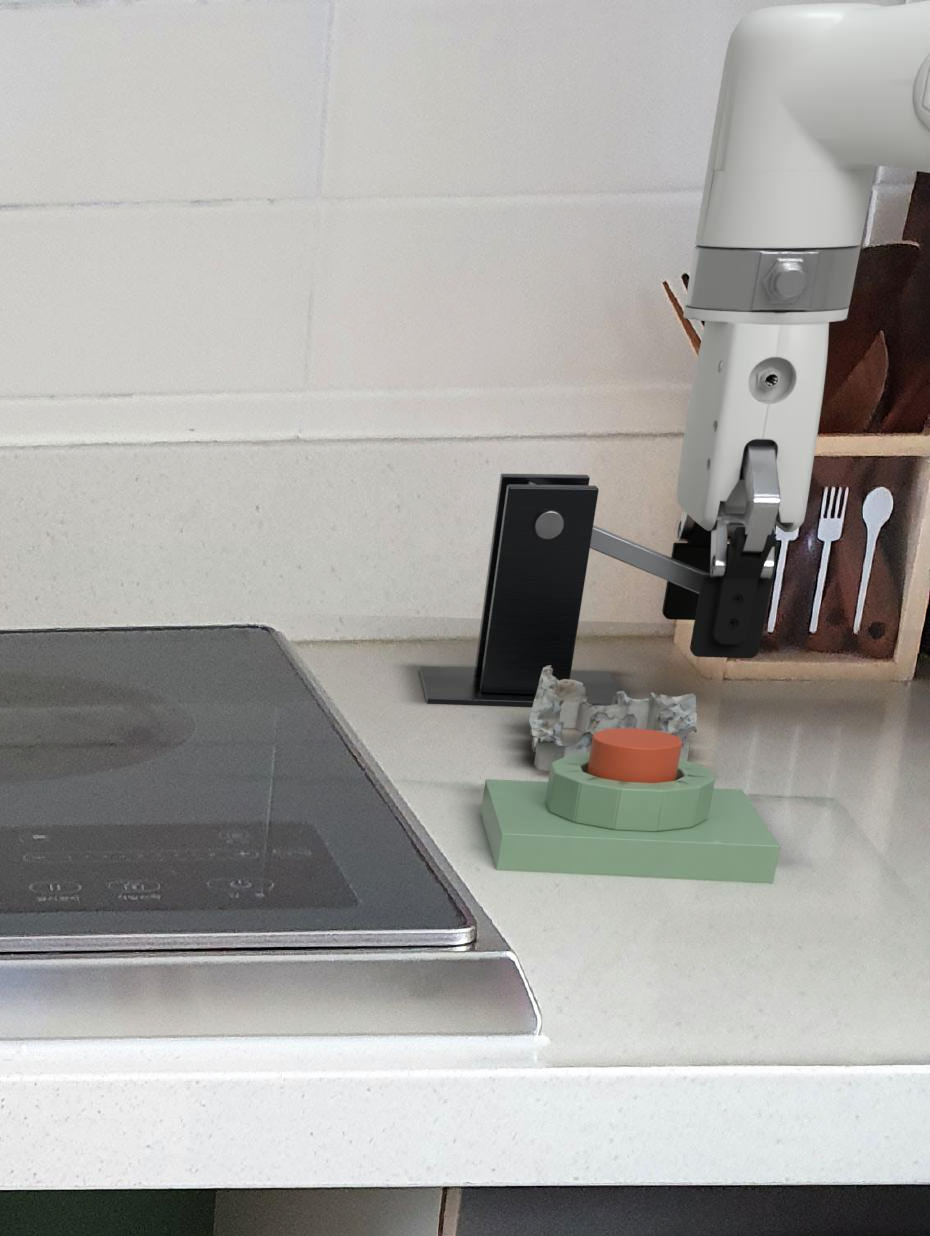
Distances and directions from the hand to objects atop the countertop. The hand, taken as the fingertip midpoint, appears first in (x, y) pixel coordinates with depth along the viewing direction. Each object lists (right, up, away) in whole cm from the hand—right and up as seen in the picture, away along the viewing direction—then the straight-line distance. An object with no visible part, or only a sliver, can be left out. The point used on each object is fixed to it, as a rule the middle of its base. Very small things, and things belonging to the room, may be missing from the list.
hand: (707, 636), depth 120 cm
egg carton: (-9, -9, -9) cm, 15 cm away
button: (-13, -12, -22) cm, 28 cm away
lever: (-5, +3, 0) cm, 6 cm away
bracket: (-9, -3, +4) cm, 10 cm away
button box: (-13, -15, -20) cm, 28 cm away
